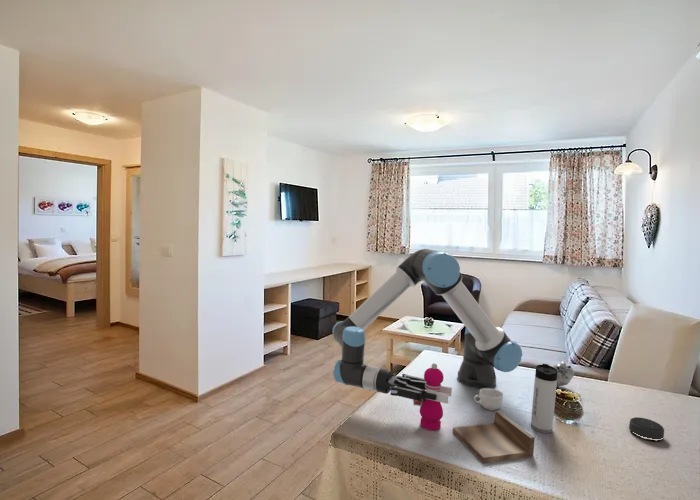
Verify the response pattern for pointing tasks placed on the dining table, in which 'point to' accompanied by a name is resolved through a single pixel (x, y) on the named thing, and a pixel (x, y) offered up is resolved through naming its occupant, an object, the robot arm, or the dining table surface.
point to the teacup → (490, 398)
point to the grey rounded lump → (563, 374)
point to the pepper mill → (430, 408)
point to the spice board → (497, 439)
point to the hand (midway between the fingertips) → (449, 395)
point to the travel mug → (544, 398)
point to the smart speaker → (646, 428)
